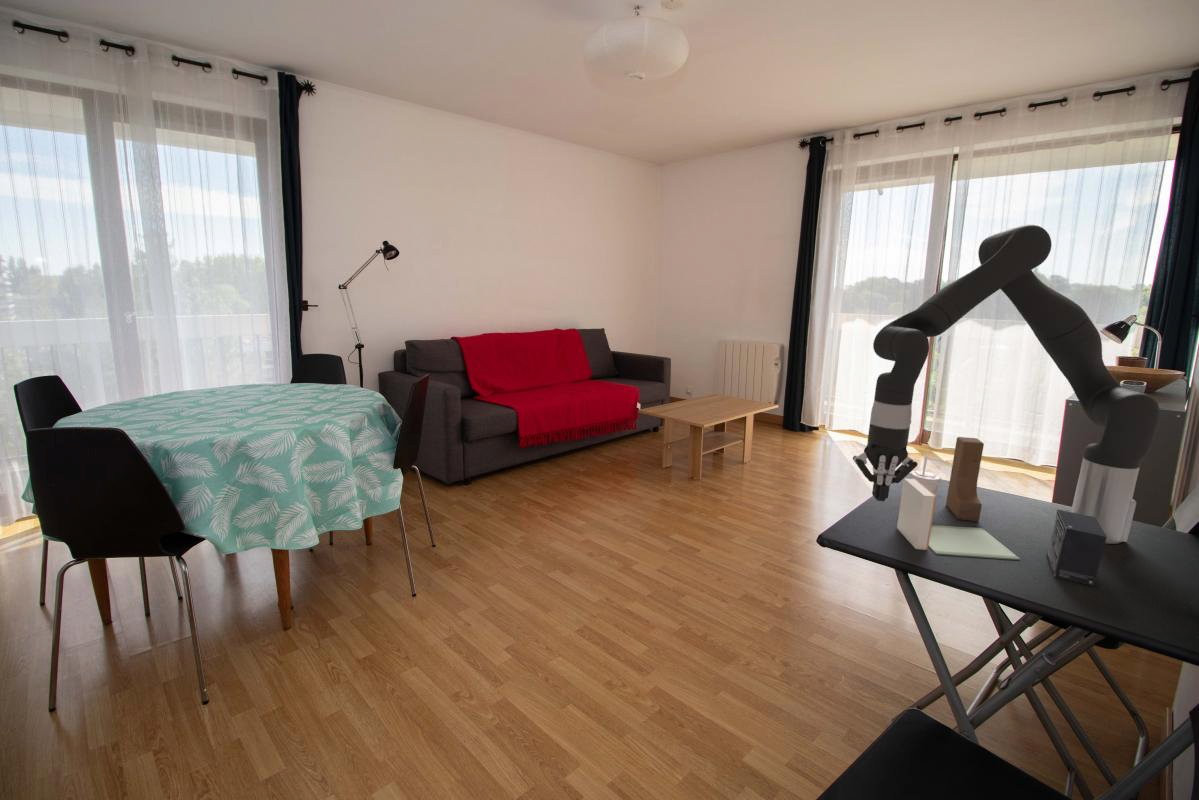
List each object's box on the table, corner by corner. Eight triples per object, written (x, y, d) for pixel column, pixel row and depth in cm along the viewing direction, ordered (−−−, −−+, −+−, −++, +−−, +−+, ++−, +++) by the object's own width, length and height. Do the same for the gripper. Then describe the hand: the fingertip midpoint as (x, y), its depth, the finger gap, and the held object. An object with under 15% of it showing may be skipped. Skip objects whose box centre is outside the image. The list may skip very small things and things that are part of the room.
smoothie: (910, 504, 140) (918, 451, 137) (938, 512, 136) (947, 457, 132) (901, 511, 136) (909, 457, 132) (930, 520, 131) (939, 463, 128)
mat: (982, 529, 127) (982, 528, 127) (1019, 560, 113) (1020, 558, 113) (907, 524, 128) (908, 523, 128) (936, 554, 115) (936, 553, 115)
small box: (1097, 588, 103) (1109, 536, 101) (1052, 577, 107) (1063, 527, 104) (1086, 564, 112) (1097, 515, 110) (1045, 555, 116) (1055, 508, 113)
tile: (907, 528, 127) (915, 478, 124) (927, 549, 117) (936, 496, 114) (896, 528, 127) (904, 478, 124) (915, 548, 117) (924, 495, 115)
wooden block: (979, 522, 131) (992, 448, 127) (957, 519, 132) (970, 447, 128) (965, 507, 139) (977, 437, 135) (945, 504, 140) (956, 436, 136)
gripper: (915, 419, 120) (904, 494, 124) (851, 416, 121) (842, 491, 125) (931, 428, 113) (919, 508, 117) (863, 425, 114) (853, 504, 118)
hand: (879, 499), depth 121 cm, fingers closed
